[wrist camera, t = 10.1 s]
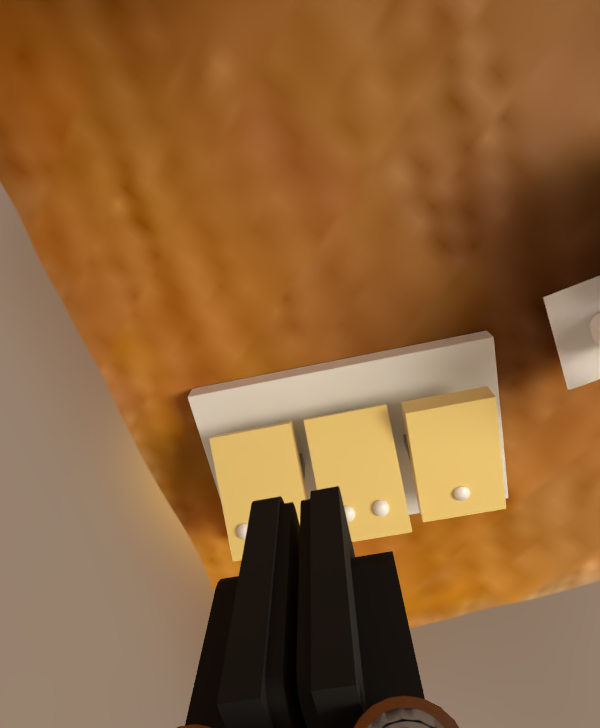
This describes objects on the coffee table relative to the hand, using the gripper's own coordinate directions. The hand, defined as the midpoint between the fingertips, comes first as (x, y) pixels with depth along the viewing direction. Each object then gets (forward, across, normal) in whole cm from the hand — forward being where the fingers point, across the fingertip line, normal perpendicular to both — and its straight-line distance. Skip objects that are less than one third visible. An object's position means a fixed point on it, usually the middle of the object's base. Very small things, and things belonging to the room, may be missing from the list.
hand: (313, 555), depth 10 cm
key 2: (+24, 0, +14) cm, 28 cm away
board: (+29, 0, +14) cm, 32 cm away
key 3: (+24, +6, +14) cm, 29 cm away
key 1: (+24, -8, +14) cm, 29 cm away
